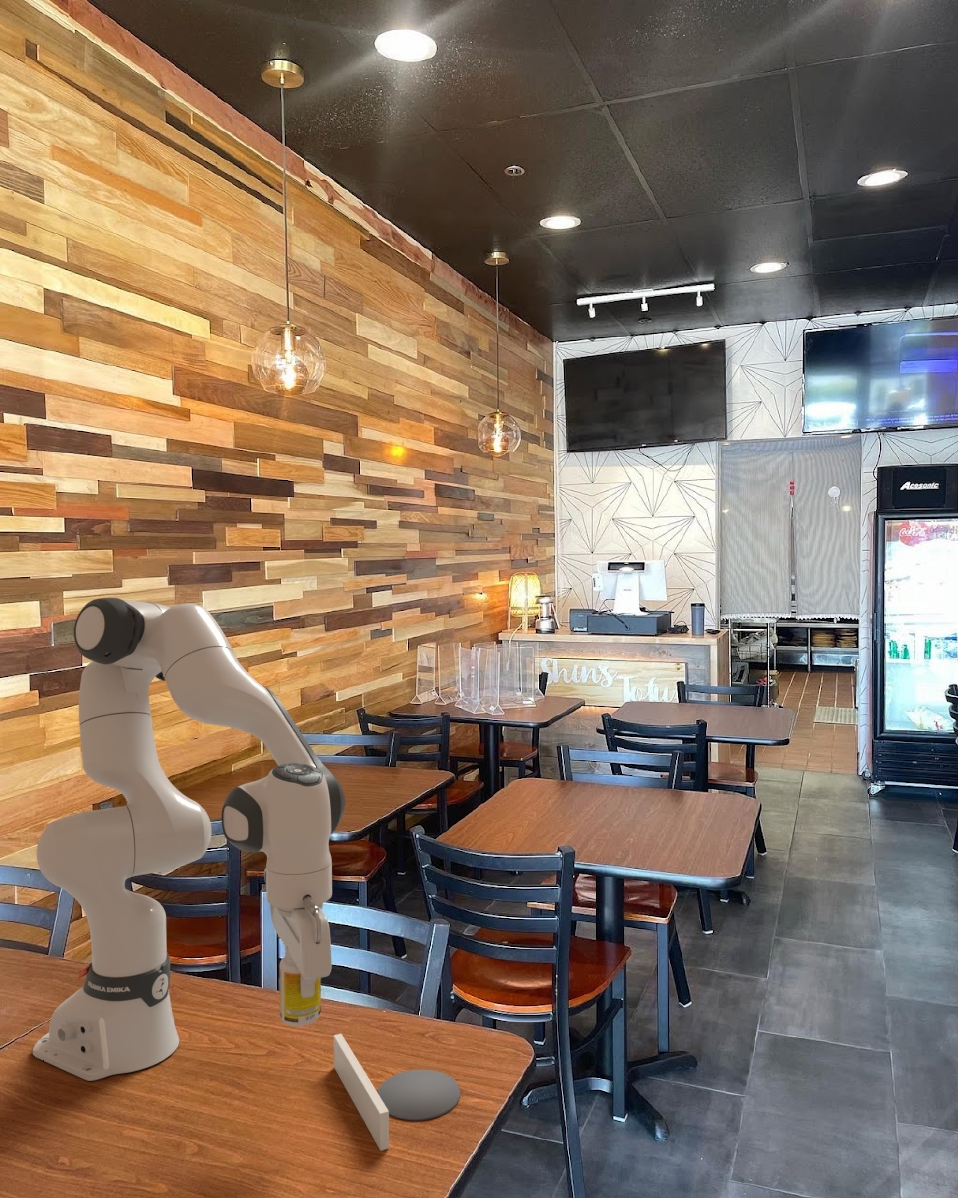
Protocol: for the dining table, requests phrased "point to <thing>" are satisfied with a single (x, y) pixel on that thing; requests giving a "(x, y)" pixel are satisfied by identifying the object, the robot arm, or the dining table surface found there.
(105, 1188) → the dining table surface
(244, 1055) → the dining table surface
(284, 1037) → the dining table surface
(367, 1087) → the low wall
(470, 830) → the dining table surface
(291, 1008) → the supplement bottle
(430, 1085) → the rest mat
